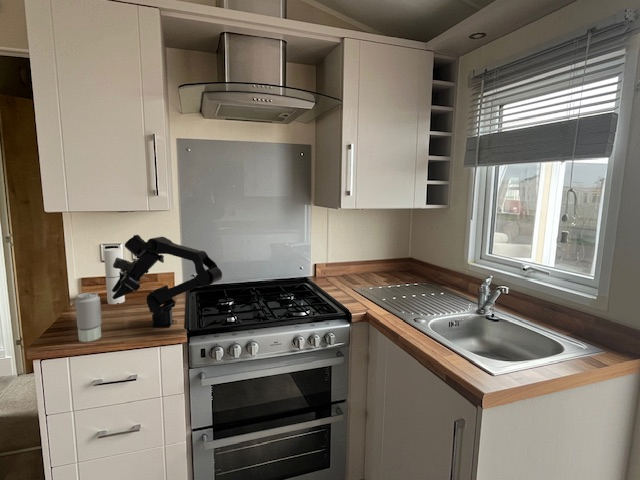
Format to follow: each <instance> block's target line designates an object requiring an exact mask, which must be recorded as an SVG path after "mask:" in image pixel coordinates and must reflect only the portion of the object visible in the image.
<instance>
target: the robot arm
mask: <svg viewBox="0 0 640 480" xmlns="http://www.w3.org/2000/svg"><path fill="white" fill-rule="evenodd" d="M124 248H126V249H127V250H128V251H129V252H130V253H131V254H132V255H133V256H135V257H138V258H137V259H135V260H132V261H129V260H126V259H123V258H122V259H120V258H116V260H115V262H114V264H113V267H114V268H116V269H121V270H120V272H119V274H120V278H119V280H118V281H117V283H116V285H115V286H114V288H113V289H112V292H116V293H115V294H114V296H113V297H112V298H113V299H117V298H119V297H121V296H124V295H125V296H126V295H128V294H131V293H134V292H137V291H138V290H139V289H140V288H141V284H140V281H141V280H142V279H141V278H142V277H143V276H144V275H145V274H148V273H149V270H151V268H152V267H153V266H154V265H155V264H156V263H157V262H160V263H162V264H164V262H165V261H164V258H165V256H164V254H165V255H170V256H173V257H177V258H180V259H184V260H187V261H191V262H193V264H194V267H195V268H194V269H195V272H196V274H197V275H195V277H193V278H191V279H189V280H186V281H184V282H181V283H179V284H177V285H175V286H172V287H169V286H168V285H164V286H161V287H159V288H156V289H154V290H151V291H149V292H148V293H149V294H148V295H146V303H147V307H148V311H149V312H150V313H152V314H151V315H152V317H151V320H152V322H151V323H152V326H151V327H152V328H156V329H157V328H170V327H171V326H172V324H173V323H174V322H175V320H174V319H173V308H175V306H176V304H177V303H176V300H174V299H173V298H174V297H177V296H179V295H181V294H184V293H186V292H189V291H190V290H193V289H195V288H202V287H208V286H211V285H213V284H214V283H217V282H219V281H221V280H222V277H223V272H222V271H221V268H219V266H218V265H217V263H216V262H215V261H214V260H212V259H211V257H209V255H208V254H207V252H206V251H204V250H199V249H195V248H192V247H189V246H184V245H181V244H177V243H174V242H173V241H172V240H171V239H169V238H166V236H158V237H157V236H156V237H152V238H149V239H147V241H145V240H144V239H143V238H142V237H141V236H140V235H139V234H134V235H133V236H132V237H130V238H129V239H128V240H127V241H125V243H124ZM204 266H205V267H206V269H205V267H204ZM121 272H122V273H121Z"/></svg>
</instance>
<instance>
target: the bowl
mask: <svg viewBox="0 0 640 480" xmlns="http://www.w3.org/2000/svg"><path fill="white" fill-rule="evenodd" d="M77 332H78V333H77V334H78V341H79V342H82V343H85V342H93V341H96V340H98V339H100V338H101V337H102V329H101V325H100V326H99V327H97V328H95V329H91V330H81V329H80V328H78V327H77Z"/></svg>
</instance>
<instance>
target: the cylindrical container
mask: <svg viewBox="0 0 640 480" xmlns="http://www.w3.org/2000/svg"><path fill="white" fill-rule="evenodd" d="M103 255H104V256H103V257H104V258H103V259H104V271H105V272H104V273H105V283H106V295H107V296H106V297H107V299H106V300H107V301H106V302H107V304H109V305H117V303H119V304H122V303H125V301H126V298H125V296H126V295H124V296H121V297H119V298H117V299H113V298H112V297H113V296H114V294H115V293H116V292H112V289H113V288H114V286H115V285H116V283H117V281H118V280H119V278H120V274H119V272H120V270H121V269H116V268H114V267H113V264H114V262H115V260H116V258H120V259H123V249H122V248H119V247H116V248H115V247H113V248H111V247H110V248H104V250H103ZM121 273H122V272H121Z"/></svg>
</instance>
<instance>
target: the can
mask: <svg viewBox="0 0 640 480" xmlns="http://www.w3.org/2000/svg"><path fill="white" fill-rule="evenodd" d="M74 305H75V306H74V307H75V316H76V326H77V329H78V328H80V329H81V330H91V329H95V328H97V327H99V326H101V324H103V322H102V308H101V297H100V296H99V294H98V293H97V292H84V293H81V294H78V295H77V296H76V299H75V300H74Z"/></svg>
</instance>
